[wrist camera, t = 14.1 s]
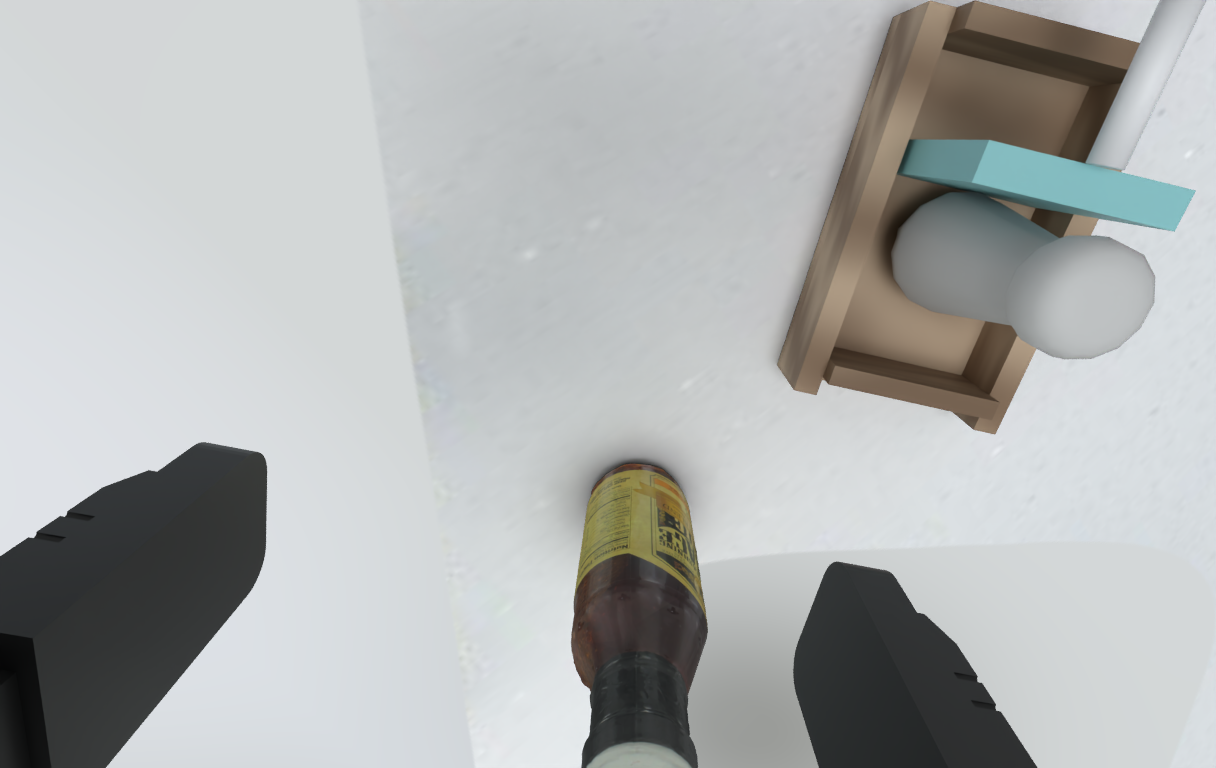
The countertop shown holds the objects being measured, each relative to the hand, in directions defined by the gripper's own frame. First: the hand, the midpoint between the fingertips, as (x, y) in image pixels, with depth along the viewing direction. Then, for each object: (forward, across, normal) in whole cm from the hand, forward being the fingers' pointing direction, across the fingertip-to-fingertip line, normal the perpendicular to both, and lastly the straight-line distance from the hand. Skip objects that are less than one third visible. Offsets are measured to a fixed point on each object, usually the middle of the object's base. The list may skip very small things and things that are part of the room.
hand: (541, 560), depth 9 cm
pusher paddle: (+27, -17, -10) cm, 33 cm away
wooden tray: (+28, -17, -4) cm, 33 cm away
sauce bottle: (+28, -5, +15) cm, 32 cm away
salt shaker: (+27, -17, -4) cm, 32 cm away
